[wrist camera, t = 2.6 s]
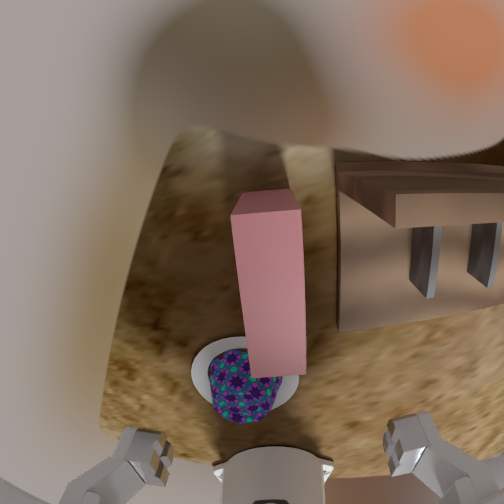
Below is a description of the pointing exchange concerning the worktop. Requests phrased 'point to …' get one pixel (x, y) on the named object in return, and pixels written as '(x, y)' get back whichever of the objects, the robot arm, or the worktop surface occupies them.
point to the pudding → (238, 383)
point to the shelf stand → (417, 241)
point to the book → (271, 281)
